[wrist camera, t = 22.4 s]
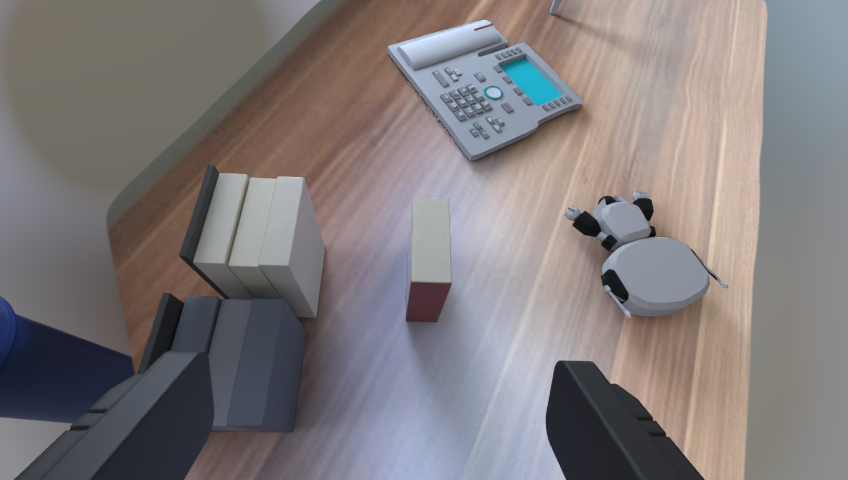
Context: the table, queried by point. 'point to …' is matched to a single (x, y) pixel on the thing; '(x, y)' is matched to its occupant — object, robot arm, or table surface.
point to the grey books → (237, 356)
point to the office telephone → (483, 85)
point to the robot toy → (642, 258)
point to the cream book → (428, 259)
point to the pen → (555, 6)
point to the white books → (257, 240)
